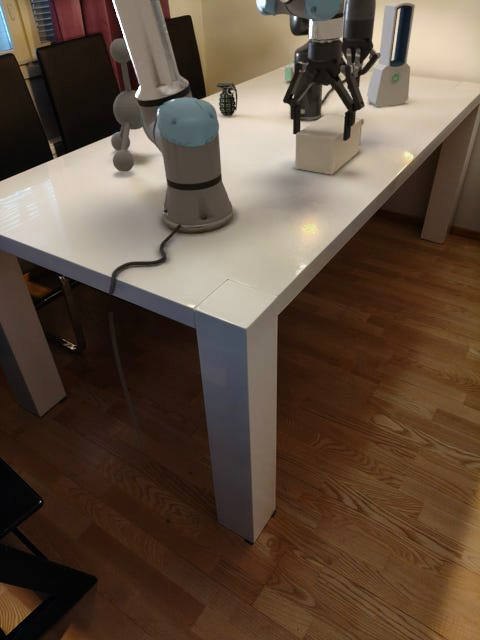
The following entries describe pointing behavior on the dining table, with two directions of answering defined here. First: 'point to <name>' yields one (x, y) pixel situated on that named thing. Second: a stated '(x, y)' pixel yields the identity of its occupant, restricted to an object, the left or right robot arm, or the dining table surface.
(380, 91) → the electronic device
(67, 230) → the dining table surface
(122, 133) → the molecular model
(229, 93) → the grenade
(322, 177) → the dining table surface
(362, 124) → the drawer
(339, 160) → the cabinet
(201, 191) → the left robot arm
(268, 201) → the dining table surface
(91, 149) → the dining table surface
